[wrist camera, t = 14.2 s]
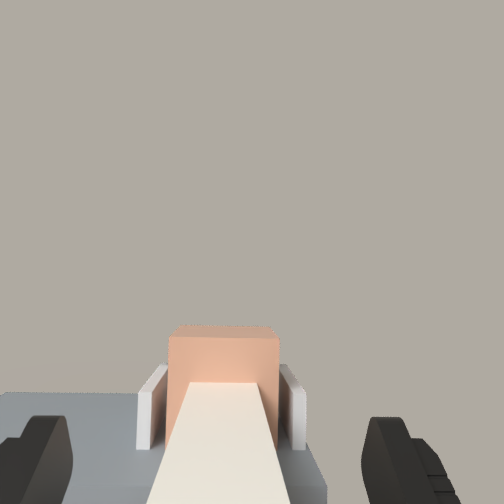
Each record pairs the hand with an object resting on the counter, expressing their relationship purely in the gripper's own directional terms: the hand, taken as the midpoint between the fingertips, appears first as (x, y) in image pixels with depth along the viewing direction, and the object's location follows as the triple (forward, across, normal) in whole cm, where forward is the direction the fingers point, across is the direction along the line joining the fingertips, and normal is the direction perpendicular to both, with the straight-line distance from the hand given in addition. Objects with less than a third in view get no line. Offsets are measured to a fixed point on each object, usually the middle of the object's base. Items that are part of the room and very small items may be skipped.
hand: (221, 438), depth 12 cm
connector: (+2, 0, -5) cm, 6 cm away
